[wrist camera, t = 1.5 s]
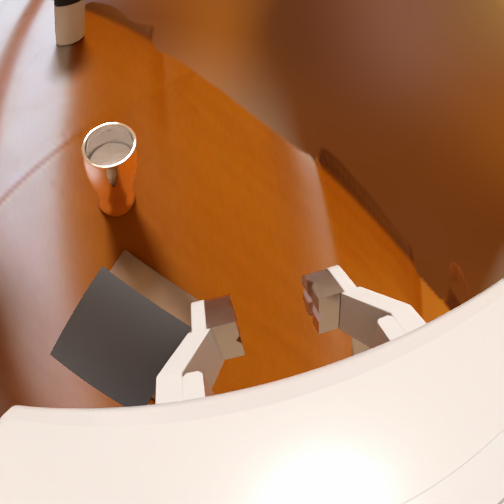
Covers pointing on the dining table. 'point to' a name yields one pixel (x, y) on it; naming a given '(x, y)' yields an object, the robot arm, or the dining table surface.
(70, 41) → the travel mug
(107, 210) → the beer glass
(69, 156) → the dining table surface
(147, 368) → the post stand
